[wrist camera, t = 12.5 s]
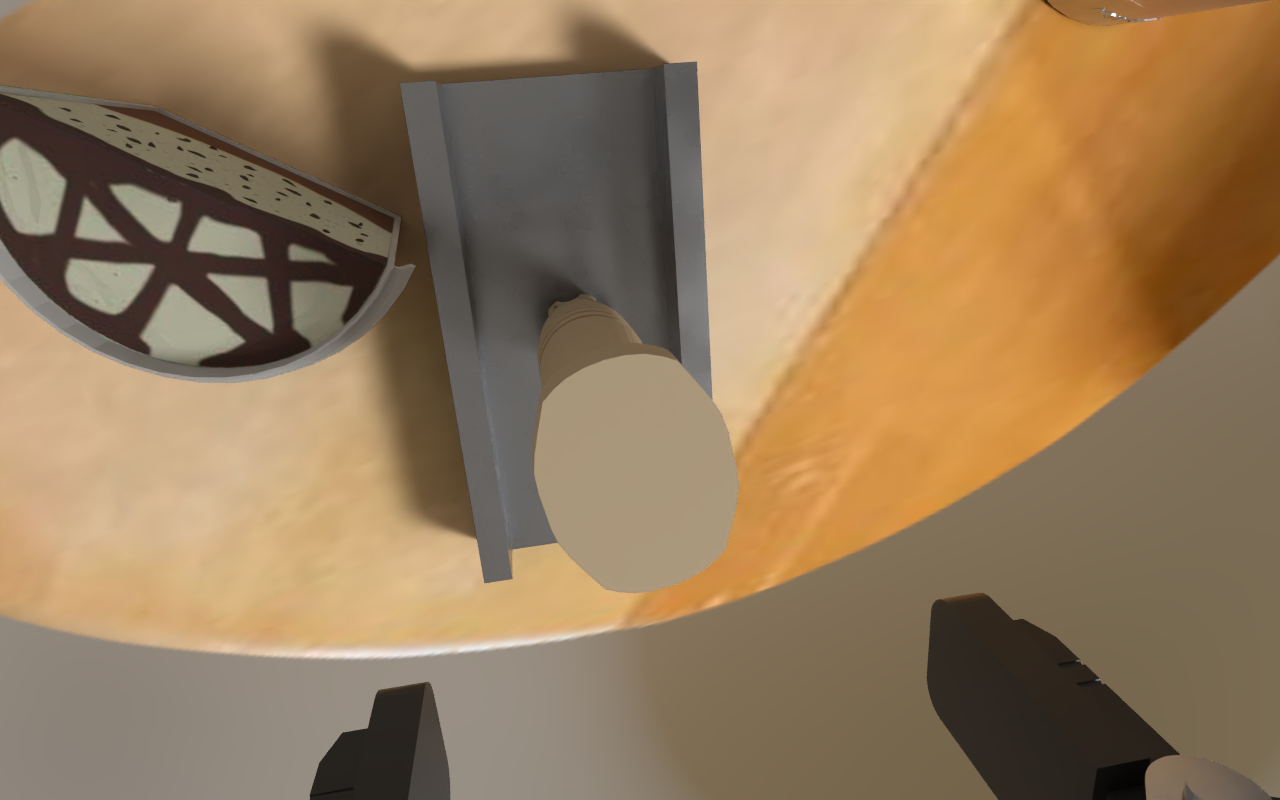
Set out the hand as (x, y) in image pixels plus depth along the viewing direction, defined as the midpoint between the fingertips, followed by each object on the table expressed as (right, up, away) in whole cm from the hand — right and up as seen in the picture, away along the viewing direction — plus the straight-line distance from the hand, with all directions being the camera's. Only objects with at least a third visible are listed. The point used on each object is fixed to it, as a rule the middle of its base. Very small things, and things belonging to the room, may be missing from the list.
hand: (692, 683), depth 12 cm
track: (-4, +8, +22) cm, 23 cm away
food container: (-16, +11, +19) cm, 27 cm away
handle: (-4, +7, +21) cm, 22 cm away
